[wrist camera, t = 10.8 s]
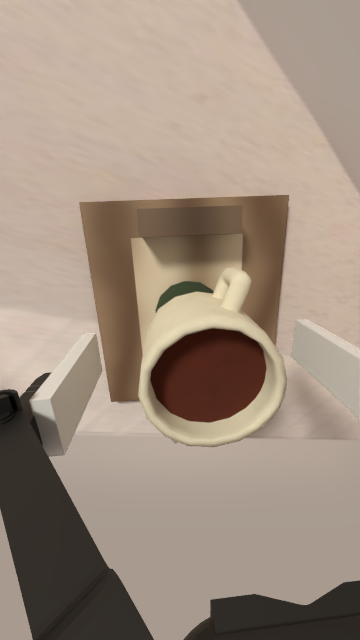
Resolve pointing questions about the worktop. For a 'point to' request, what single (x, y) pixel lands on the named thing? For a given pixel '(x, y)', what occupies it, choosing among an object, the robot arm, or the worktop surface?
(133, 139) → the worktop surface
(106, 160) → the worktop surface
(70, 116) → the worktop surface
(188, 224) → the seating jig
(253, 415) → the character mug
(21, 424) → the robot arm
